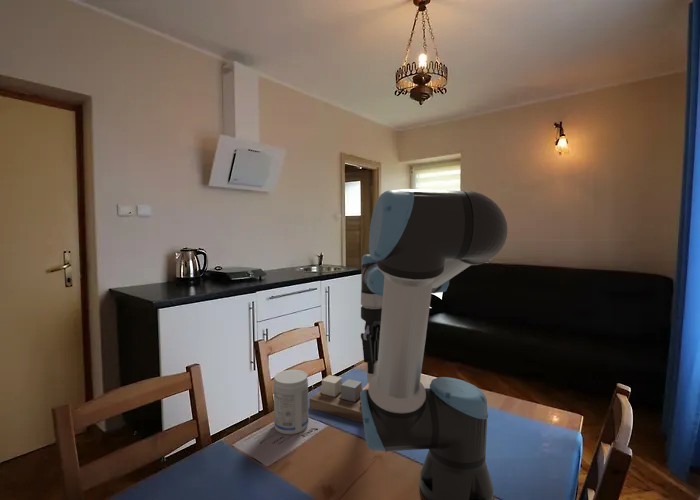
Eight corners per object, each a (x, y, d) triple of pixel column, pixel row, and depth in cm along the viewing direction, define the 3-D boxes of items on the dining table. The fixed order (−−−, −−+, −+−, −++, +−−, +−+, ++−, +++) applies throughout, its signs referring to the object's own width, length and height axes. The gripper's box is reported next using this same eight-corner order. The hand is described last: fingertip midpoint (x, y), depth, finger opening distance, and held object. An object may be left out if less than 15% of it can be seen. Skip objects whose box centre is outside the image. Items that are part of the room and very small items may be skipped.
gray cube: (354, 402, 111) (355, 388, 110) (341, 398, 113) (341, 384, 112) (361, 395, 115) (361, 382, 115) (347, 392, 117) (348, 379, 117)
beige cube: (334, 397, 114) (334, 383, 113) (321, 393, 116) (321, 380, 116) (341, 390, 118) (342, 377, 118) (329, 387, 120) (329, 374, 120)
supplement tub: (297, 413, 109) (297, 366, 108) (315, 427, 102) (315, 376, 101) (267, 424, 103) (267, 374, 102) (284, 440, 96) (284, 386, 95)
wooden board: (375, 426, 103) (375, 415, 103) (309, 408, 113) (309, 398, 112) (391, 404, 115) (392, 395, 115) (331, 389, 125) (331, 381, 125)
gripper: (376, 312, 101) (375, 394, 103) (392, 303, 113) (391, 376, 115) (352, 309, 104) (351, 388, 106) (370, 300, 116) (369, 372, 118)
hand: (372, 382), depth 110 cm, fingers closed
